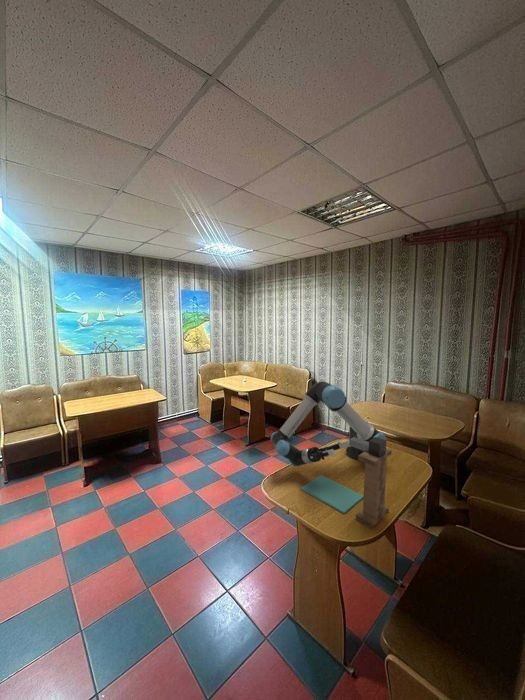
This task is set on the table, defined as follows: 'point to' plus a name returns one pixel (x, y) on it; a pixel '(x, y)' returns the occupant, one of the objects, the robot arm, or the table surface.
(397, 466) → the table surface
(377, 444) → the bar
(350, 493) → the teal mat
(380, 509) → the walnut stand
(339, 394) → the robot arm
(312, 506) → the table surface
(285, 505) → the table surface
